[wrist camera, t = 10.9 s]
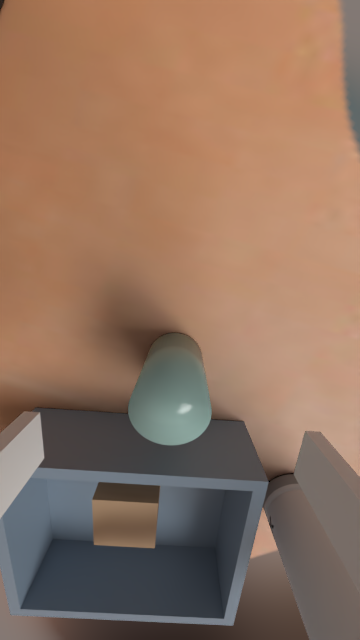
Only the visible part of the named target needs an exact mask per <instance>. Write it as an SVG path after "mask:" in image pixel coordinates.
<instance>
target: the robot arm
mask: <svg viewBox="0 0 360 640" xmlns="http://www.w3.org/2000/svg"><path fill="white" fill-rule="evenodd" d="M3 1H4V0H0V9H1V7H2V4H3ZM43 459H44V449H43V439H42V428H41V418H40V412H28V411H24V412H23V413H22V414H21V415H19V416H18V417H17V418H16V419H15V420H14V421H13V422H12V423H11V424H9V425H8V426H7V427H6V428H5V429H4V430H3V431H2V432H1V433H0V518H1V517H2V516H3V514H4V513H5V512H6V510H7V509H8V507H9V506H10V505H11V503H12V502H13V501H14V499H15V498H16V496H17V495H18V494H19V492H20V491H21V490H22V488H23V487H24V485H25V484H26V483H27V481H28V480H29V478H30V477H31V476H32V474H33V473H34V472H35V470H36V469H37V467H38V466H39V465H40V463H41V462H42V461H43ZM294 476H295V478H296V480H297V482H298V483H299V485H300V487H301V489H302V491H303V492H304V494H305V496H306V498H307V500H308V501H309V503H310V505H311V507H312V509H313V510H314V512H315V514H316V516H317V518H318V519H319V521H320V523H321V525H322V527H323V528H324V530H325V532H326V534H327V536H328V537H329V539H330V541H331V543H332V545H333V546H334V548H335V550H336V552H337V554H338V555H339V557H340V559H341V561H342V563H343V564H344V566H345V568H346V570H347V572H348V573H349V575H350V577H351V579H352V581H353V582H354V584H355V586H356V588H357V590H358V591H359V593H360V477H359V476H358V475H357V474H356V472H355V471H354V470H353V469H352V468H351V467H350V466H349V464H348V463H347V462H346V461H345V460H344V459H343V457H342V456H341V455H340V454H339V453H338V452H337V451H336V449H335V448H334V447H333V446H332V445H331V444H330V443H329V441H328V440H327V439H326V438H325V437H324V436H323V434H322V433H321V432H314V431H305V434H304V437H303V441H302V445H301V448H300V452H299V456H298V460H297V463H296V467H295V471H294Z"/></svg>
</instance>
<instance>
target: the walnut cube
mask: <svg viewBox="0 0 360 640" xmlns="http://www.w3.org/2000/svg"><path fill="white" fill-rule="evenodd" d="M159 496H160V486H158V485H142V484H125V483H109V482H99V483H98V485H97V488H96V491H95V493H94V496H93V499H92V511H93V538H94V545H103V546H121V547H139V548H155V541H156V530H157V519H158V508H159Z"/></svg>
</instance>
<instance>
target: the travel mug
mask: <svg viewBox="0 0 360 640" xmlns="http://www.w3.org/2000/svg"><path fill="white" fill-rule="evenodd" d="M263 508H264V510H265V513H266V516H267V519H268V522H269V525H270V528H271V531H272V533H273V536H274V539H275V542H276V545H277V548H278V551H279V553H280V556H281V559H282V562H283V565H284V568H285V571H286V574H287V577H288V579H289V582H290V585H291V588H292V591H293V594H294V597H295V599H296V602H297V605H298V608H299V611H300V614H301V617H302V620H303V622H304V625H305V628H306V631H307V634H308V637H309V639H310V640H360V593H359V591H358V590H357V588H356V586H355V584H354V582H353V581H352V579H351V577H350V575H349V573H348V572H347V570H346V568H345V566H344V564H343V563H342V561H341V559H340V557H339V555H338V554H337V552H336V550H335V548H334V546H333V545H332V543H331V541H330V539H329V537H328V536H327V534H326V532H325V530H324V528H323V527H322V525H321V523H320V521H319V519H318V518H317V516H316V514H315V512H314V510H313V509H312V507H311V505H310V503H309V501H308V500H307V498H306V496H305V494H304V492H303V491H302V489H301V487H300V485H299V483H298V482H297V480H296V478H295V476H294V474H288V475H283V476H279V477H277V478H275V479H273V480H272V481H270V482H269V483H268V487H267V491H266V495H265V499H264V503H263Z"/></svg>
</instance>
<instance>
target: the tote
mask: <svg viewBox="0 0 360 640" xmlns="http://www.w3.org/2000/svg"><path fill="white" fill-rule="evenodd" d="M32 412H40V418H41V428H42V439H43V449H44V459H43V461H42V462H41V463H40V465H39V466H38V467H37V469H36V470H35V472H34V473H33V474H32V476H31V477H30V478H29V480H28V481H27V483H26V484H25V485H24V487H23V488H22V490H21V491H20V492H19V494H18V495H17V496H16V498H15V499H14V501H13V502H12V503H11V505H10V506H9V507H8V509H7V510H6V512H5V513H4V514H3V516H2V517H1V518H0V568H1V573H2V577H3V582H4V586H5V591H6V596H7V601H8V605H9V610H10V615H21V616H42V617H63V618H84V619H85V618H86V619H105V620H126V621H147V622H148V621H149V622H169V623H191V624H211V625H233V624H234V620H235V616H236V611H237V607H238V603H239V599H240V595H241V591H242V587H243V583H244V579H245V575H246V571H247V567H248V563H249V559H250V555H251V551H252V547H253V543H254V539H255V535H256V531H257V527H258V523H259V519H260V515H261V511H262V507H263V503H264V499H265V495H266V491H267V487H268V483H269V481H268V479H267V476H266V474H265V472H264V469H263V467H262V464H261V462H260V459H259V457H258V455H257V452H256V450H255V447H254V445H253V443H252V440H251V438H250V435H249V433H248V430H247V428H246V426H245V423H244V422H242V421H227V420H213V419H211V420H210V423H209V425H208V427H207V428H206V430H205V431H204V432H203V433H202V434H201V435H200V436H199V437H197V438H196V439H194V440H192V441H190V442H188V443H185V444H180V445H162V444H158V443H155V442H152V441H150V440H148V439H146V438H145V437H143V436H142V435H141V434H140V433H138V432H137V430H136V429H135V428H134V427H133V425H132V423H131V421H130V418H129V414H124V413H109V412H95V411H80V410H65V409H50V408H35V409H34V410H33V411H32ZM99 482H109V483H125V484H142V485H158V486H160V496H159V508H158V519H157V530H156V541H155V548H139V547H121V546H103V545H94V538H93V511H92V499H93V496H94V493H95V491H96V488H97V485H98V483H99Z"/></svg>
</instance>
